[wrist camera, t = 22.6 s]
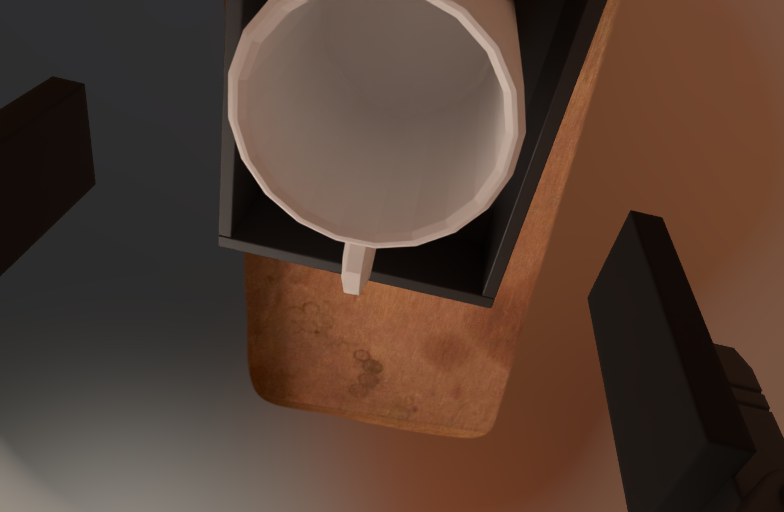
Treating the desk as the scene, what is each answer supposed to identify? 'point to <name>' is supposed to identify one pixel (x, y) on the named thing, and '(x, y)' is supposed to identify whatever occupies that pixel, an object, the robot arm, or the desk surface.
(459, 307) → the desk surface
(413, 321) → the desk surface
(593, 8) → the basket
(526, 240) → the desk surface
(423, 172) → the mug
